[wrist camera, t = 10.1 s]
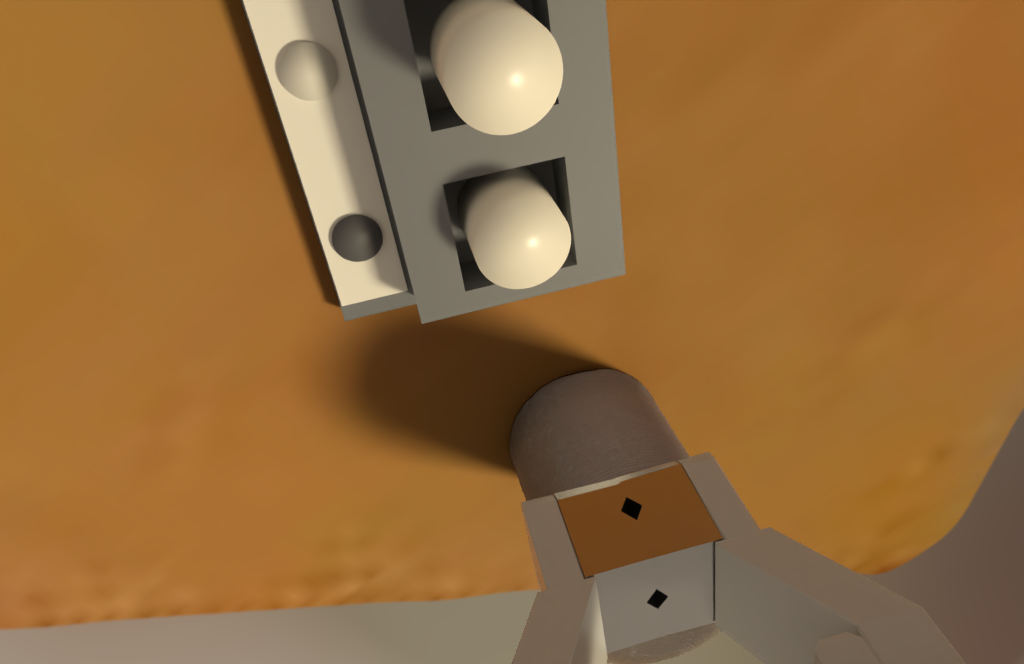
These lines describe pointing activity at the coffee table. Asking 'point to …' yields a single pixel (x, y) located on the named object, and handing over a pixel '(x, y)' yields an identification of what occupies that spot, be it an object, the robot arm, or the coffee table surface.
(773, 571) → the robot arm
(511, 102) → the button
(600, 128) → the board
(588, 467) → the pillar candle
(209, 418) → the coffee table surface
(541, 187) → the button
